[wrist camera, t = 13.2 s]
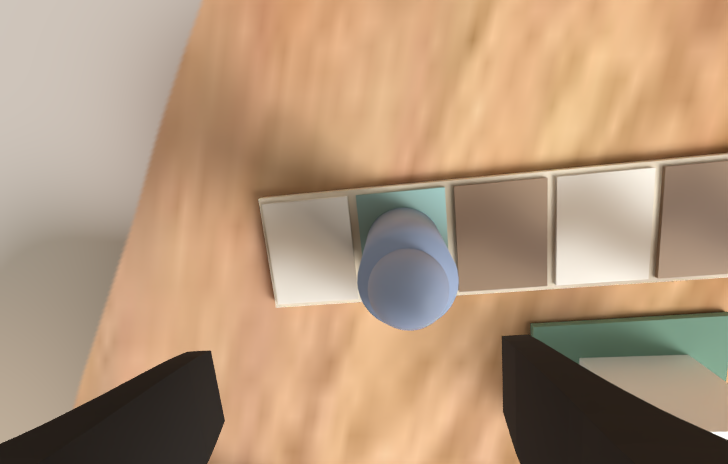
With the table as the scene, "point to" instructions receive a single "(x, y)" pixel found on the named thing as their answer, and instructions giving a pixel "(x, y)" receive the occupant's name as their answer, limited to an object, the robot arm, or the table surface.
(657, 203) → the board
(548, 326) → the mat
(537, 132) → the table surface
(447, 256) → the pawn
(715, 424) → the die
